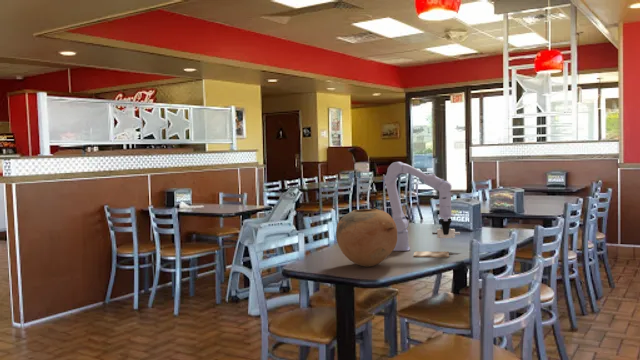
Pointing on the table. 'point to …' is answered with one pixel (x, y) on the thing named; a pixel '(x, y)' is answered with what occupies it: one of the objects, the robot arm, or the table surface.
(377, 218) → the pot
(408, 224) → the robot arm
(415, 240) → the table surface
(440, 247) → the table surface
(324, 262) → the table surface
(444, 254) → the pad
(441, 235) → the connector
